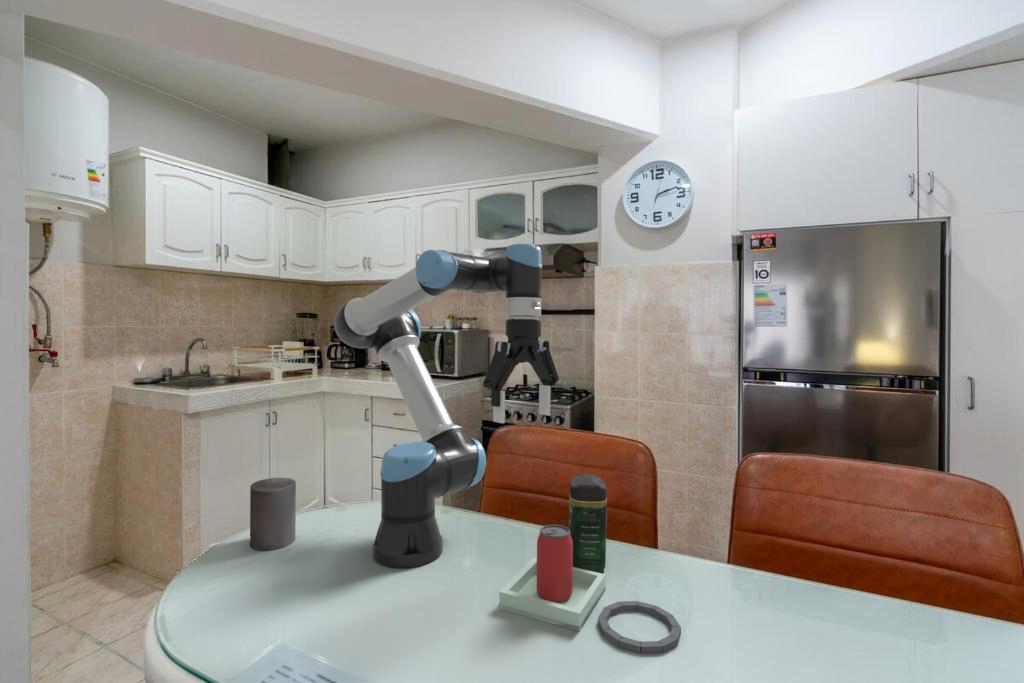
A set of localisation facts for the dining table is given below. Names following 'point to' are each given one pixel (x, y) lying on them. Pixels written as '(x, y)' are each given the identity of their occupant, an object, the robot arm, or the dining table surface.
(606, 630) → the socket ring
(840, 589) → the dining table surface
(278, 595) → the dining table surface
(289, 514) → the pillar candle
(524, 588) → the bin
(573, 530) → the coffee jar
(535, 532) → the dining table surface
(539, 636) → the dining table surface
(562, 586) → the beer can
